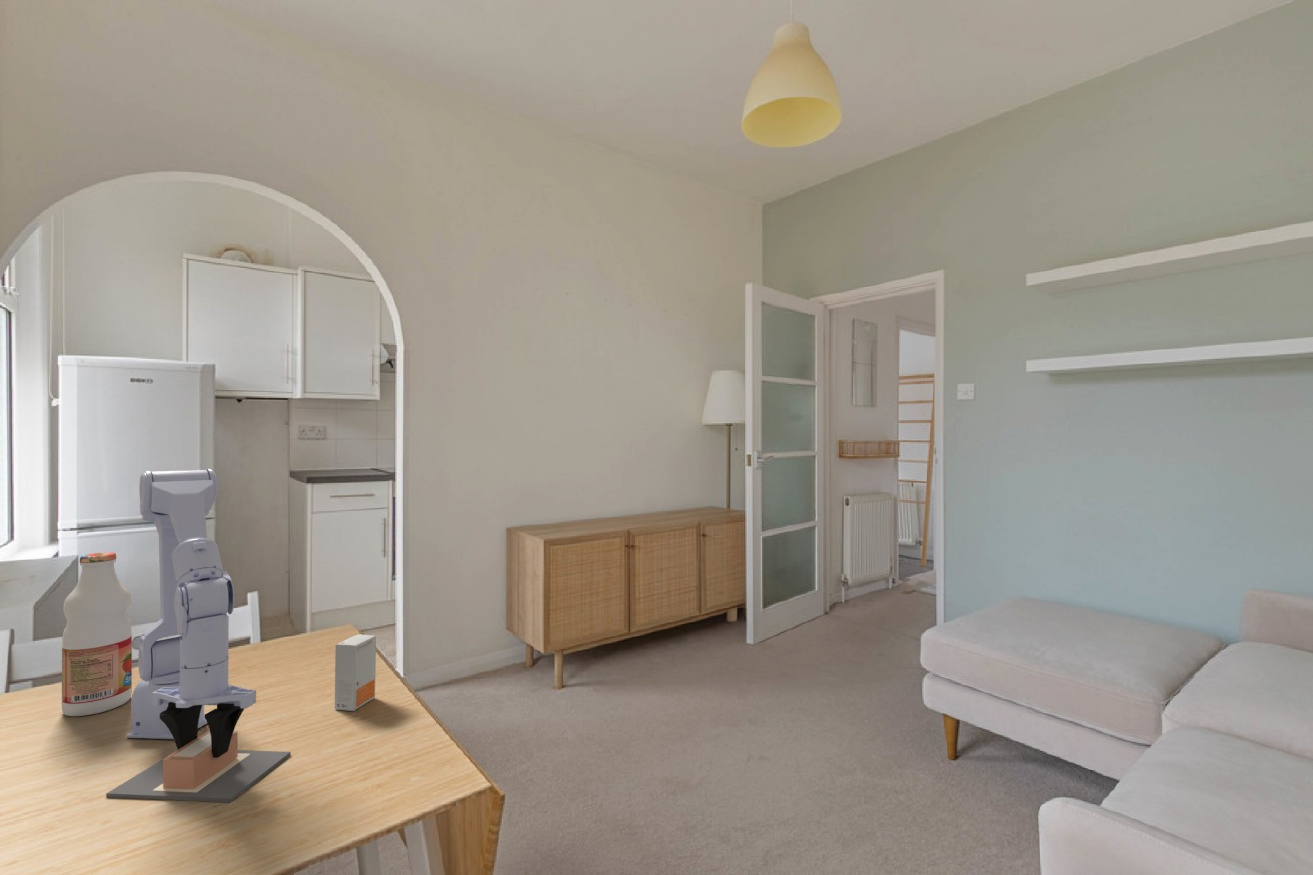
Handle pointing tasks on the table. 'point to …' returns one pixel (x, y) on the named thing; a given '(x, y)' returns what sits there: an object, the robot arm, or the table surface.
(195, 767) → the pink box with label
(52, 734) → the table surface
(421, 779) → the table surface
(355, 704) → the skincare box
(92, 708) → the fruit juice
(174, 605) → the robot arm
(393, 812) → the table surface
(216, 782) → the charcoal mat
